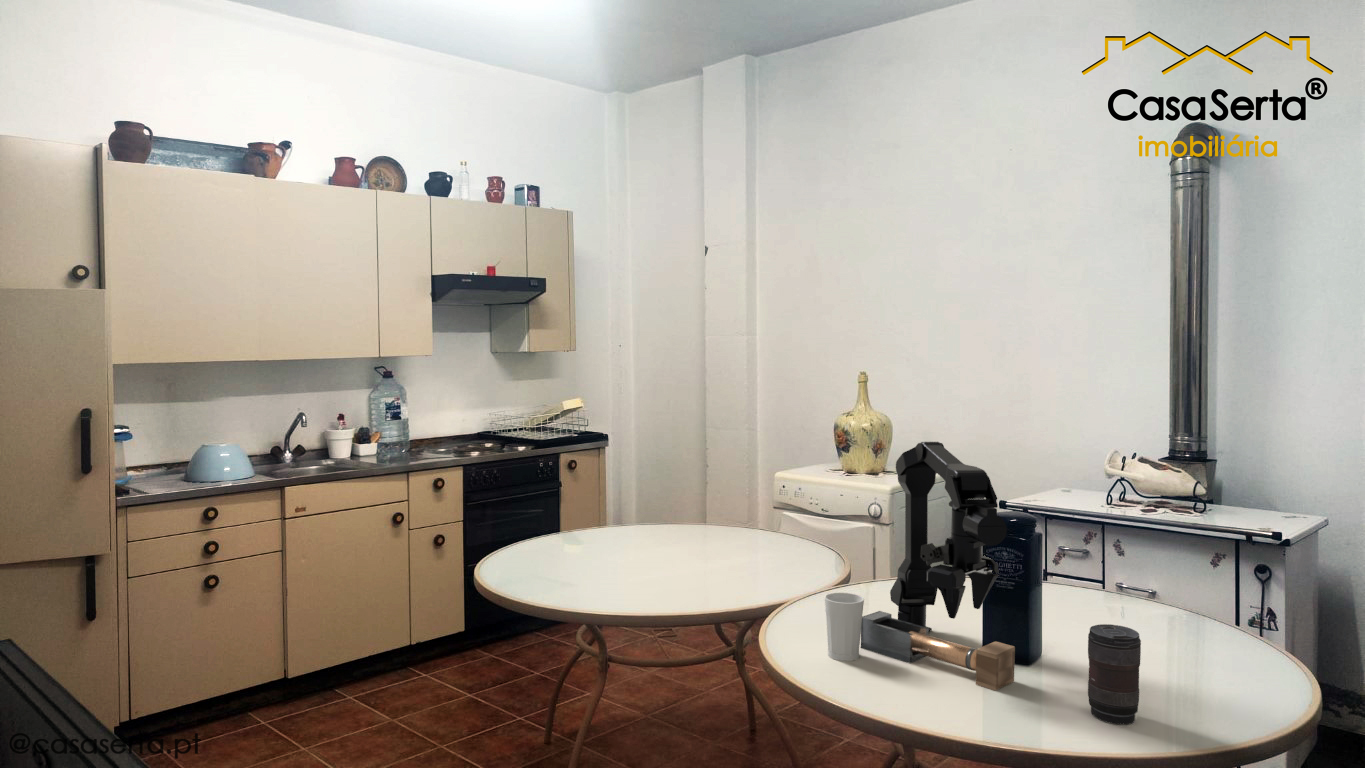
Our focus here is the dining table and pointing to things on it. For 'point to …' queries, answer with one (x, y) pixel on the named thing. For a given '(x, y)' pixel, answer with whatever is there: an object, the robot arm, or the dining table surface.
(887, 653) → the grey channel holder
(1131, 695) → the camera lens
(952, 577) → the robot arm
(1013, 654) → the socket
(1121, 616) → the dining table surface
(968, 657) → the tube
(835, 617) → the cup
